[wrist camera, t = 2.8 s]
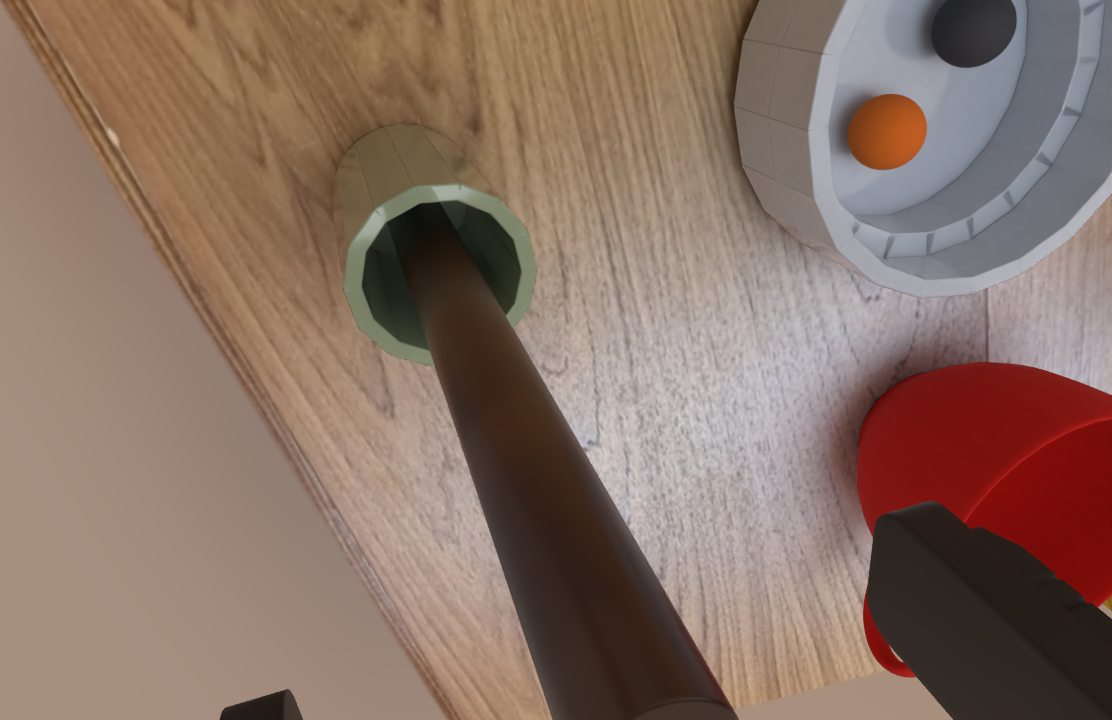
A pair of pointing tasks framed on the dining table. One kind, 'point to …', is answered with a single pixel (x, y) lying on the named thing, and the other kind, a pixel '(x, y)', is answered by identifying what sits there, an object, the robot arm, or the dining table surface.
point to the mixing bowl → (928, 138)
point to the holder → (395, 187)
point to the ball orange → (887, 132)
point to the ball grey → (973, 31)
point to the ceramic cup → (997, 467)
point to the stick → (549, 507)
